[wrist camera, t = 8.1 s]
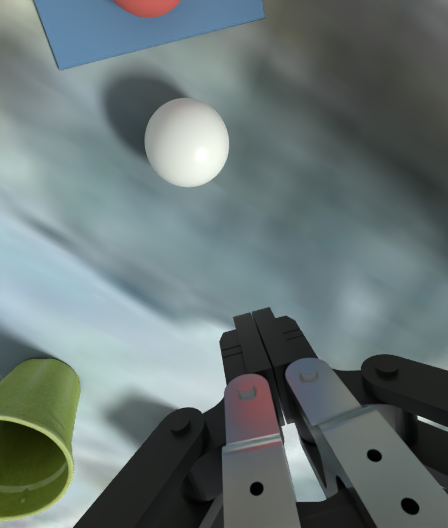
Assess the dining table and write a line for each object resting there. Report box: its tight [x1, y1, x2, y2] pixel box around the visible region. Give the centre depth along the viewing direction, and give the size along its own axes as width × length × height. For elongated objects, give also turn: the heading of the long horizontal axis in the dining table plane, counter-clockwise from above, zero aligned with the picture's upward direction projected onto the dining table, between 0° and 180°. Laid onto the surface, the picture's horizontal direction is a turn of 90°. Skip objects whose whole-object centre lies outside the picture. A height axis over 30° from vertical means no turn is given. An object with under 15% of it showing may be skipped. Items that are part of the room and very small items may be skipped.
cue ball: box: [145, 98, 229, 187], centre depth 22 cm, size 6×6×6 cm
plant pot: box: [0, 359, 80, 521], centre depth 26 cm, size 9×9×9 cm
